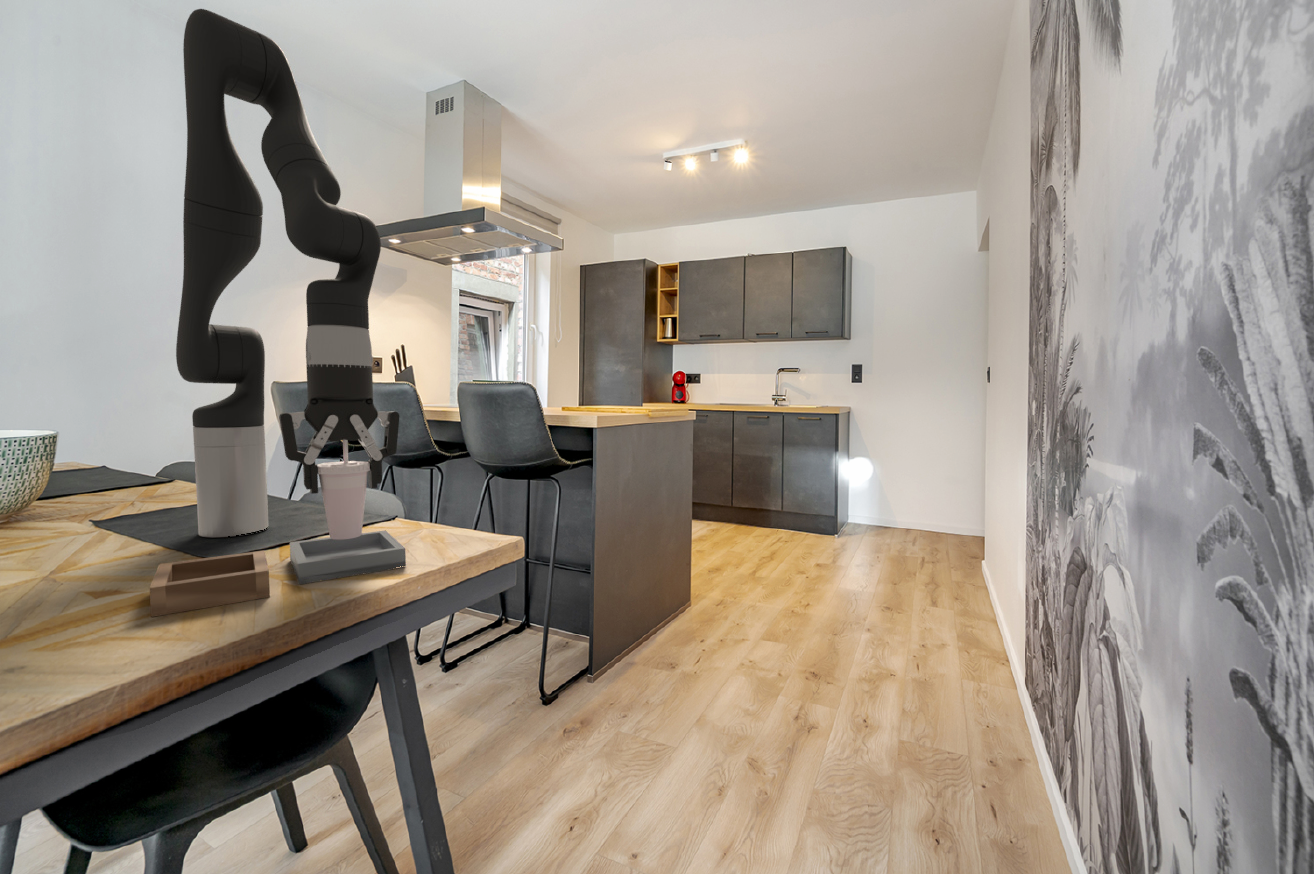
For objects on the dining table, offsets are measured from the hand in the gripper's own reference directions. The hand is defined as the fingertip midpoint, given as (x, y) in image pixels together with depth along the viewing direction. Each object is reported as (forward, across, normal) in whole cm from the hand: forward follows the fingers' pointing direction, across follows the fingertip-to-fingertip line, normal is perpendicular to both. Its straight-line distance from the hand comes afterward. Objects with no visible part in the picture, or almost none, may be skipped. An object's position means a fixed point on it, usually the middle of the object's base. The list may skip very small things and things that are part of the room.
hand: (344, 489), depth 76 cm
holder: (+10, +14, +4) cm, 18 cm away
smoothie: (+6, 0, 0) cm, 6 cm away
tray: (+10, 0, 0) cm, 10 cm away
